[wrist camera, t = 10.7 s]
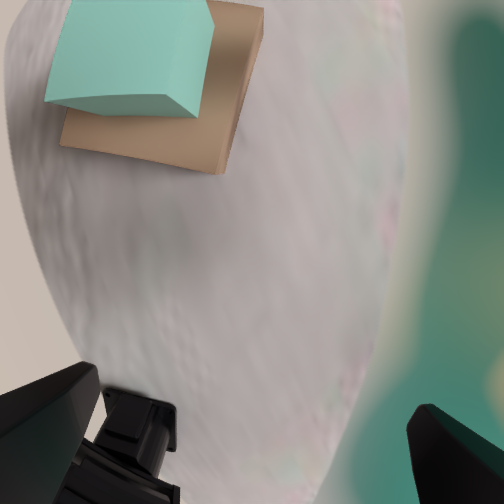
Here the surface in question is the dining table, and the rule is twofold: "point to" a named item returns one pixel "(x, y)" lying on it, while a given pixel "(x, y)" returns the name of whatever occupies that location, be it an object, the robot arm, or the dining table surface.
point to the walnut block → (183, 128)
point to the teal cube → (132, 57)
